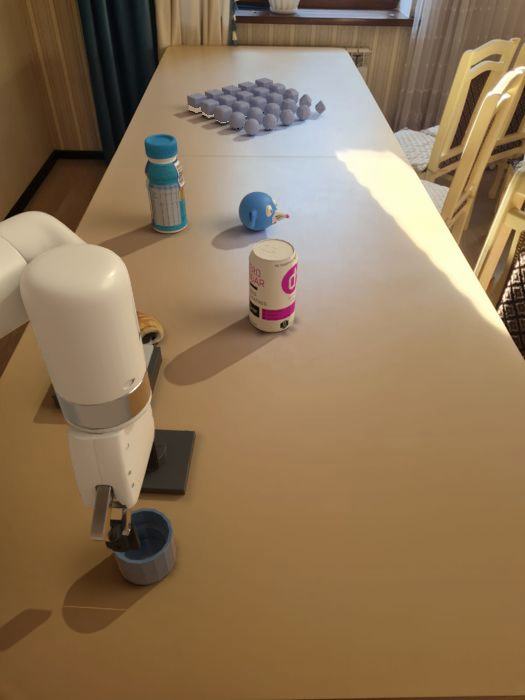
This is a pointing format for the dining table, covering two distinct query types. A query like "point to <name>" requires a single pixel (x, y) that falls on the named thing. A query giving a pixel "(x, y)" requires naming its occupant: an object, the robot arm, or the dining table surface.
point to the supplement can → (272, 284)
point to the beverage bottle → (165, 184)
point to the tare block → (170, 463)
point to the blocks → (254, 105)
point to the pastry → (149, 329)
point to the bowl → (149, 548)
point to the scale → (152, 363)
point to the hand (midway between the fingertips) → (135, 503)
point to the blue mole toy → (259, 211)
